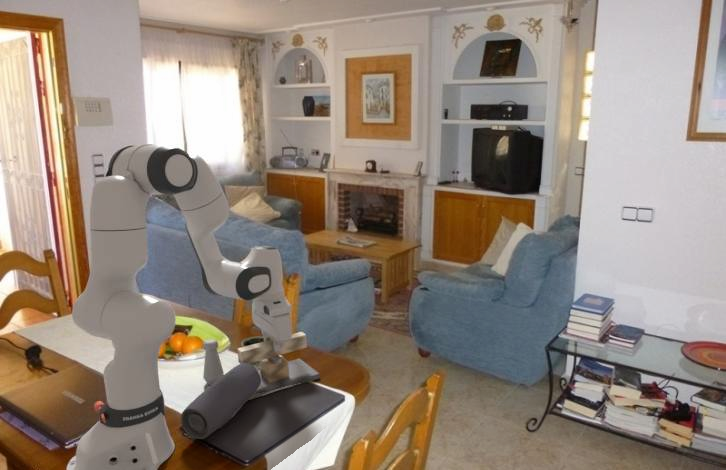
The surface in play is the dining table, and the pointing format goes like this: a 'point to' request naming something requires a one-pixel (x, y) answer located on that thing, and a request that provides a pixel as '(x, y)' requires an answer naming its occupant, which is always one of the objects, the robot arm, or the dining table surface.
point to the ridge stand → (283, 373)
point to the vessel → (250, 342)
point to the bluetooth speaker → (220, 401)
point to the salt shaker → (212, 362)
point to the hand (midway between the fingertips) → (272, 346)
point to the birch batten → (270, 349)
